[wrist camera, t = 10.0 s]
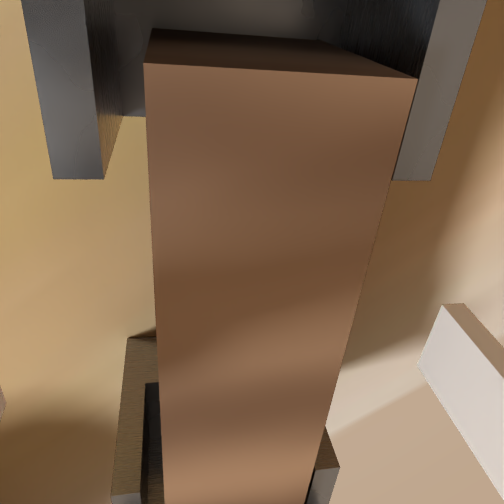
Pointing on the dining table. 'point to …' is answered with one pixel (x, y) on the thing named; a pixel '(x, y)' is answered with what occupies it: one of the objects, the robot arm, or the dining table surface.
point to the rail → (259, 247)
